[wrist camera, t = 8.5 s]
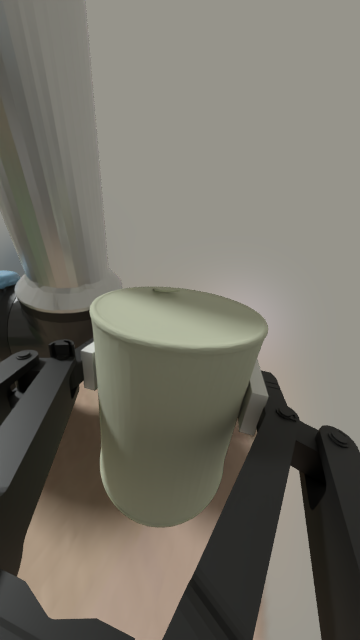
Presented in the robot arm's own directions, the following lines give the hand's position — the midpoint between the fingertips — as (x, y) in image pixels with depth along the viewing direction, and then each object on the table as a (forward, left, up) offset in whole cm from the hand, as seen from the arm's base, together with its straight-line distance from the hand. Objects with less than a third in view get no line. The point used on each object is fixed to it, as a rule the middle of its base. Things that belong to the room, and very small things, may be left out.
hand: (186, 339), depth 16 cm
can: (+3, -4, -7) cm, 9 cm away
